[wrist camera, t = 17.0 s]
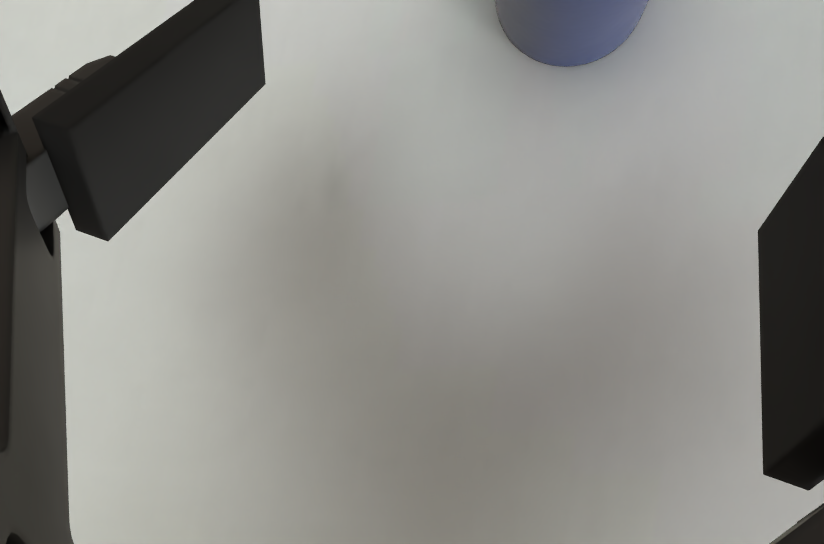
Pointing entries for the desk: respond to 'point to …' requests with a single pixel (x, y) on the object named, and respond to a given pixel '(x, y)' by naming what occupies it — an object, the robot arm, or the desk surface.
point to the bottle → (568, 27)
